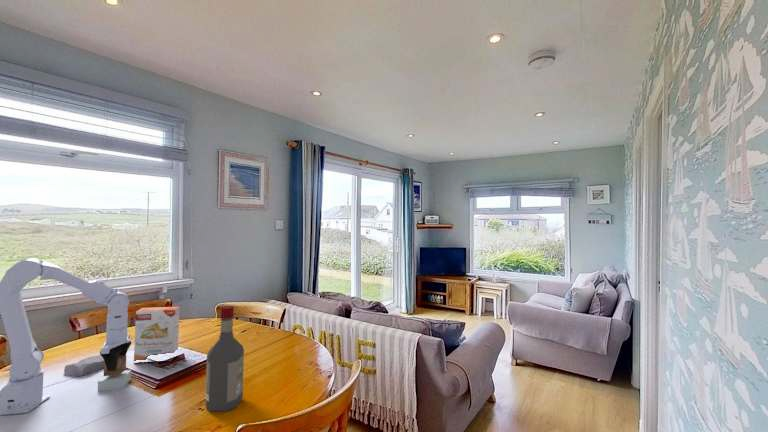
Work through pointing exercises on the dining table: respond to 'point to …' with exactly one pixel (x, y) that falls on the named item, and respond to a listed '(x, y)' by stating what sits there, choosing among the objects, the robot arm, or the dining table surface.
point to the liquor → (224, 368)
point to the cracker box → (156, 331)
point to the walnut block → (119, 369)
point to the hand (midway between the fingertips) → (115, 367)
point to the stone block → (85, 366)
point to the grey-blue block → (114, 381)
